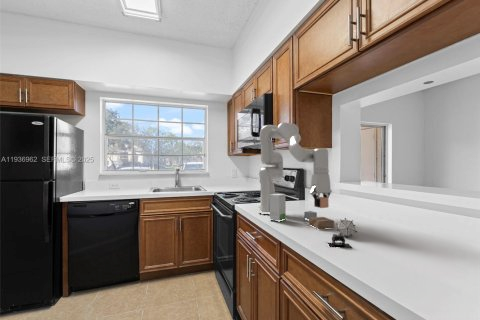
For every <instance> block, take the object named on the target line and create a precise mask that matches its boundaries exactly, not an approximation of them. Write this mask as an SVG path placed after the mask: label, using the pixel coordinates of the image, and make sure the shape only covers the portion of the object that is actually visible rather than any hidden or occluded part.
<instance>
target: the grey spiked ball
mask: <svg viewBox="0 0 480 320" xmlns="http://www.w3.org/2000/svg"><path fill="white" fill-rule="evenodd" d="M335 225H337V229H336V231H339V234H341V235H343V236H344V237H346V239H348V238H349V236H351V237H352V236H353V234H354V233H355V232H356V233H358V231H357V230H356V228H355V226H356V224H354V220H353V219H352V220H349V219H347V217H344V219H341V218H340V220H339V222H338V223H335Z"/></svg>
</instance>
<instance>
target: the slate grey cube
mask: <svg viewBox="0 0 480 320" xmlns="http://www.w3.org/2000/svg"><path fill="white" fill-rule="evenodd" d="M303 214H304V215H303V216H304V218H307V219H309V218H312V217H318V215H317V214H318V212H316V211H313V210H312V211H311V210H308V211H304V213H303ZM304 218H303V219H304Z"/></svg>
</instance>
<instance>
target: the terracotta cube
mask: <svg viewBox="0 0 480 320" xmlns="http://www.w3.org/2000/svg"><path fill="white" fill-rule="evenodd" d="M319 199H320V207H317V206H315V199H314V198H313V200H314V204H313V205H314V206H313V207H316V208H320V209H325V208H327V209H328V208H329V207H330V206H329V198H326V197H323V196H319Z"/></svg>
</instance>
